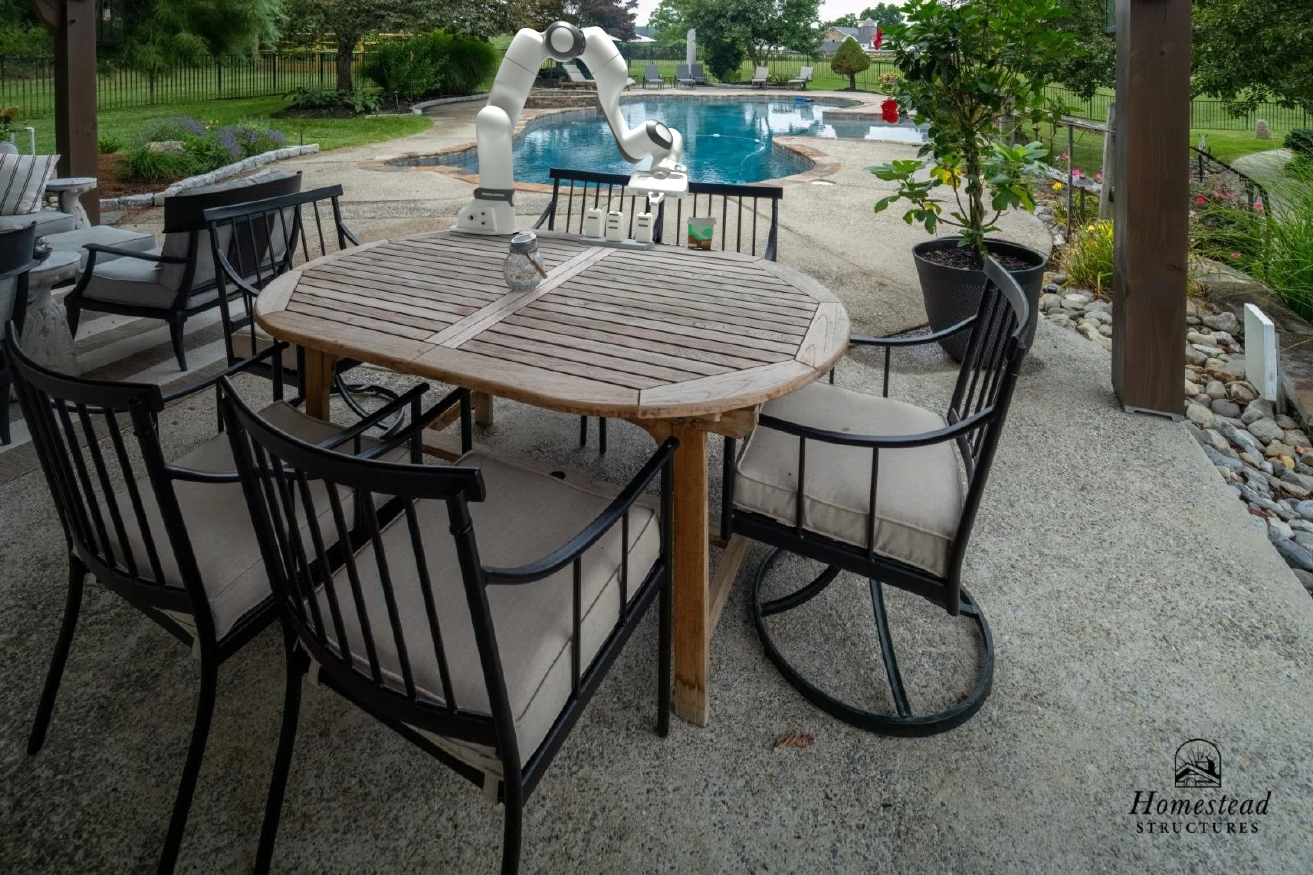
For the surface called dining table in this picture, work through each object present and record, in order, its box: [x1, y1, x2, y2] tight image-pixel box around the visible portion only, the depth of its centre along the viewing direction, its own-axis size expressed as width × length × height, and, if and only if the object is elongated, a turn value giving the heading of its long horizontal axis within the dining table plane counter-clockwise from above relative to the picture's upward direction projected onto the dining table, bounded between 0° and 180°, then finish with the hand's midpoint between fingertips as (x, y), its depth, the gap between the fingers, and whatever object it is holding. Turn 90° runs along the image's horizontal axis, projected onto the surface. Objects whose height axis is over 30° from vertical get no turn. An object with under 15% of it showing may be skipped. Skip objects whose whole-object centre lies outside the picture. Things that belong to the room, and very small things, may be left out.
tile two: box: [634, 212, 655, 242], centre depth 240 cm, size 5×3×9 cm
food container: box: [686, 215, 717, 250], centre depth 245 cm, size 12×6×10 cm, turn 143°
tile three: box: [605, 210, 625, 241], centre depth 238 cm, size 5×3×9 cm
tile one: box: [584, 207, 604, 237], centre depth 244 cm, size 5×3×9 cm
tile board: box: [577, 235, 655, 252], centre depth 242 cm, size 22×12×2 cm, turn 76°
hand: (653, 204), depth 247 cm, fingers closed
